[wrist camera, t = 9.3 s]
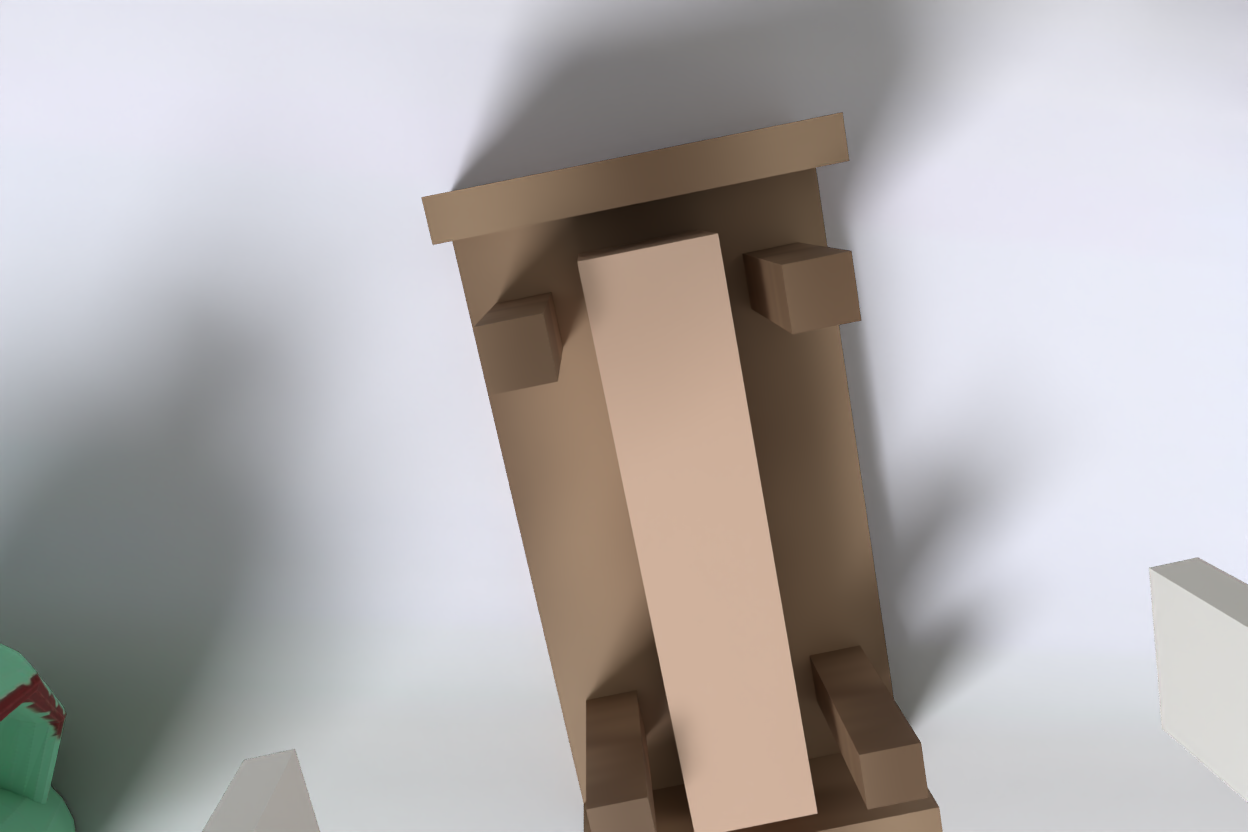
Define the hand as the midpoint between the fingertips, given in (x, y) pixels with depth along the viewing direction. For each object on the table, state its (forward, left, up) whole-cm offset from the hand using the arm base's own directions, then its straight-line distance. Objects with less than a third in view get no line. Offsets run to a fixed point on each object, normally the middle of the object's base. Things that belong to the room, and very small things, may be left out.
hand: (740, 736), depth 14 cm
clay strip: (0, 0, -11) cm, 11 cm away
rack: (0, 0, -12) cm, 12 cm away
